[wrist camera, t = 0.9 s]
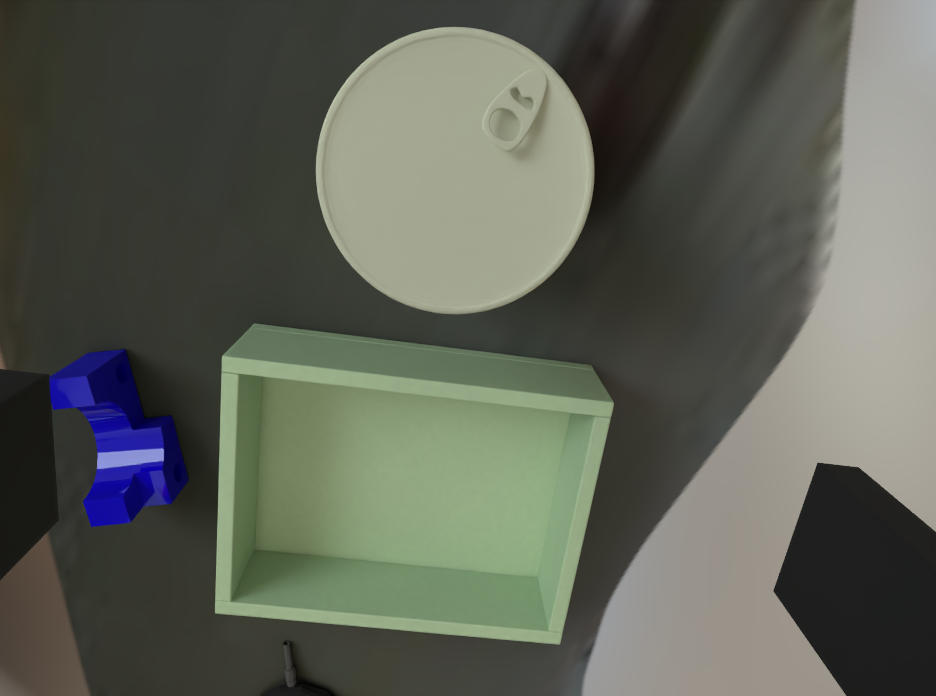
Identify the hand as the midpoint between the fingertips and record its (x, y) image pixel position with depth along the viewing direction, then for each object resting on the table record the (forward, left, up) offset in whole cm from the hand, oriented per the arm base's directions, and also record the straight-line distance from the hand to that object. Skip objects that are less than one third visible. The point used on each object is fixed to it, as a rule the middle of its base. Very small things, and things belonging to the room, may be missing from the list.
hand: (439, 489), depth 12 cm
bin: (+12, 0, -24) cm, 27 cm away
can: (-4, 0, -24) cm, 24 cm away
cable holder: (+11, -15, -24) cm, 30 cm away
